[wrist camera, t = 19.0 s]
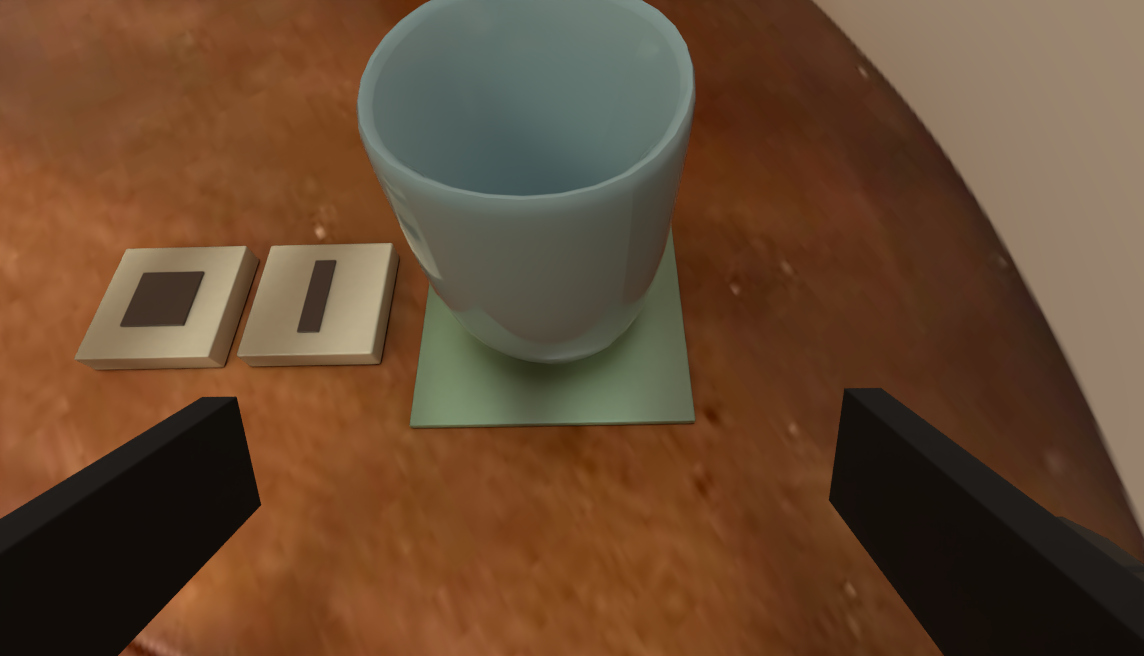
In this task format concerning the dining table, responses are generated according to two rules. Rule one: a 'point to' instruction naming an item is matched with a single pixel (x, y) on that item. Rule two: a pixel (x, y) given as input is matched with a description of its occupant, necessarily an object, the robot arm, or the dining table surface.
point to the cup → (533, 161)
